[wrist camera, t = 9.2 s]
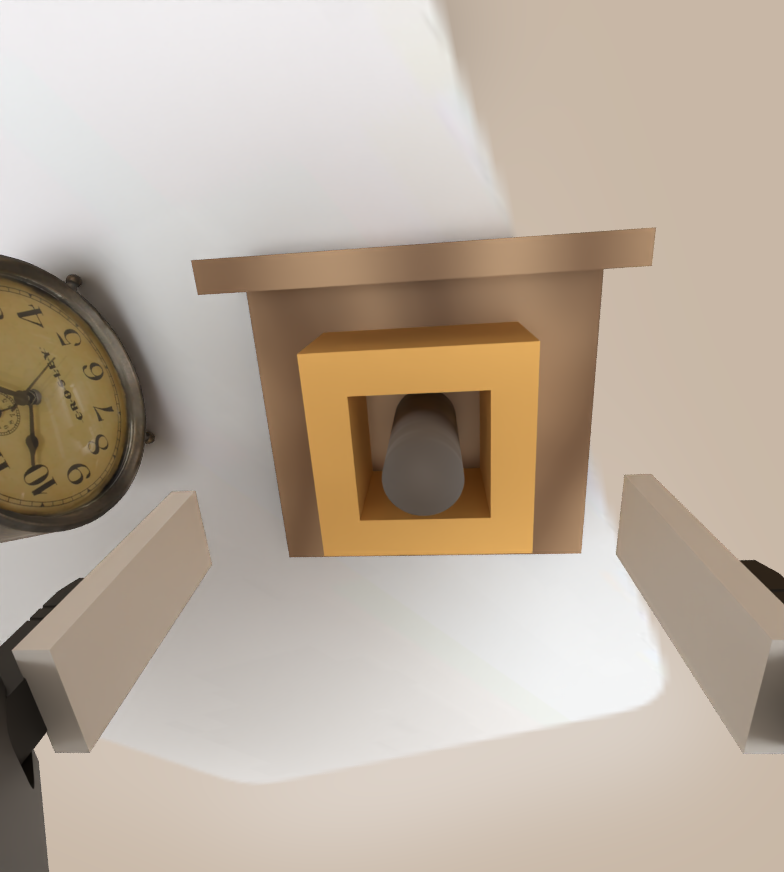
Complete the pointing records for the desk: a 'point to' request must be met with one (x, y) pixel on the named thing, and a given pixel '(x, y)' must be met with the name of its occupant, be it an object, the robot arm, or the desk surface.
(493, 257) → the hook board
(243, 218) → the desk surface
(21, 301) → the alarm clock
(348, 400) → the orange square frame
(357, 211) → the desk surface
